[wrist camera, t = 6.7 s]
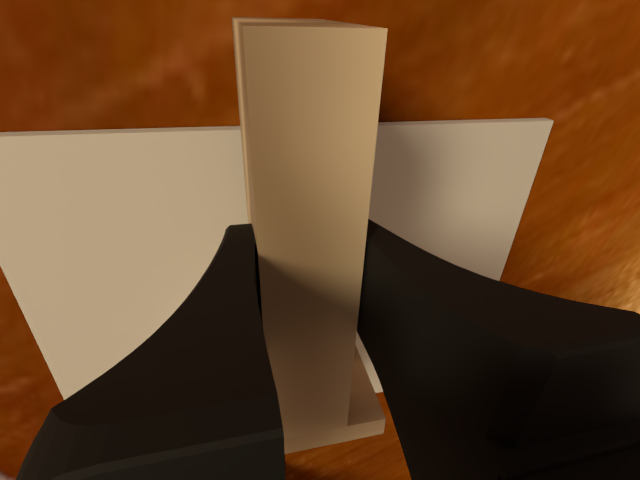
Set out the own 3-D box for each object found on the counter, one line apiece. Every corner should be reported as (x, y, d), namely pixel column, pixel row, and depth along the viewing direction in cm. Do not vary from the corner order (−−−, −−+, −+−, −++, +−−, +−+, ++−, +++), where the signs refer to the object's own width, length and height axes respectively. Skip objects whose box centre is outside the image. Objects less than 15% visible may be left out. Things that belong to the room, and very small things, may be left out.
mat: (545, 117, 17) (553, 120, 16) (462, 369, 25) (467, 375, 25) (-51, 133, 12) (-60, 138, 12) (88, 437, 20) (86, 446, 20)
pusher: (365, 20, 11) (457, 29, 7) (342, 328, 17) (382, 433, 13) (179, 15, 10) (153, 23, 6) (225, 345, 16) (229, 465, 12)
